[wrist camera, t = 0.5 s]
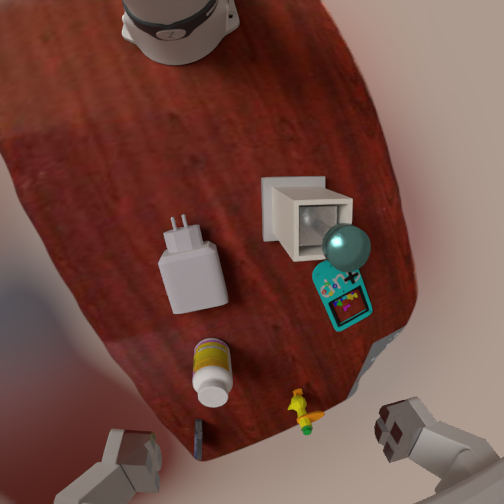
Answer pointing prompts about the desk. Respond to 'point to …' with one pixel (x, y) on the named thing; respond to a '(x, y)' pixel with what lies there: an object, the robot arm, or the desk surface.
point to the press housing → (297, 211)
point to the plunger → (333, 237)
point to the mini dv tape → (198, 438)
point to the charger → (191, 270)
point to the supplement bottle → (212, 372)
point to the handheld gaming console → (340, 291)
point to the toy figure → (303, 412)
